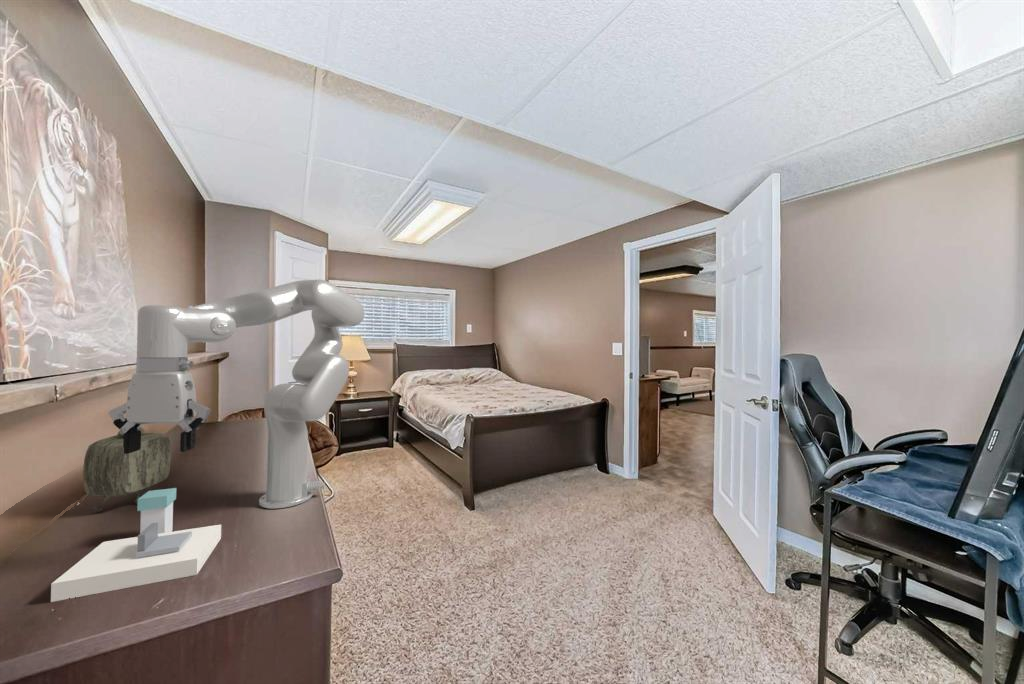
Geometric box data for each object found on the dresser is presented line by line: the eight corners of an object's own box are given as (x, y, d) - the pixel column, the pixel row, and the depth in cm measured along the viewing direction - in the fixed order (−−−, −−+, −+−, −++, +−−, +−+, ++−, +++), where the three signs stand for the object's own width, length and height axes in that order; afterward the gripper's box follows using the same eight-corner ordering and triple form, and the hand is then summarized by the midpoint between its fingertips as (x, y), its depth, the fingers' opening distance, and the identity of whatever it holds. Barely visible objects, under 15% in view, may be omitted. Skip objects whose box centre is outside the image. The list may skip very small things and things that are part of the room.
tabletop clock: (142, 492, 105) (144, 403, 105) (173, 493, 105) (175, 404, 105) (81, 515, 91) (84, 413, 91) (117, 516, 90) (120, 414, 91)
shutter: (191, 535, 76) (192, 516, 76) (179, 550, 70) (179, 530, 70) (152, 541, 73) (152, 522, 74) (135, 557, 68) (136, 537, 68)
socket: (221, 538, 81) (221, 524, 81) (196, 574, 68) (197, 558, 68) (102, 557, 73) (103, 541, 73) (50, 602, 61) (51, 583, 61)
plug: (175, 529, 84) (176, 487, 85) (165, 539, 80) (166, 495, 80) (147, 533, 83) (148, 490, 83) (136, 544, 78) (137, 499, 78)
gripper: (221, 365, 81) (219, 444, 80) (128, 365, 78) (126, 447, 77) (198, 367, 73) (196, 454, 73) (95, 367, 70) (92, 458, 70)
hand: (160, 451), depth 75 cm, fingers open, 9 cm apart
